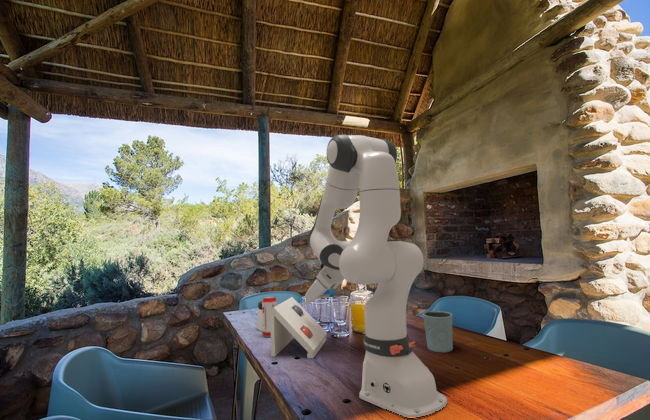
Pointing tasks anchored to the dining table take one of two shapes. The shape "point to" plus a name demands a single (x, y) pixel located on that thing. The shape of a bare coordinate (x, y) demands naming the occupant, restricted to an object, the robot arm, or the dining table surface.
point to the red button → (306, 331)
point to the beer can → (267, 313)
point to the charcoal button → (298, 310)
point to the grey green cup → (438, 330)
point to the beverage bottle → (328, 294)
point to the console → (294, 328)
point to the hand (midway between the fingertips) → (306, 303)
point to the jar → (260, 316)
